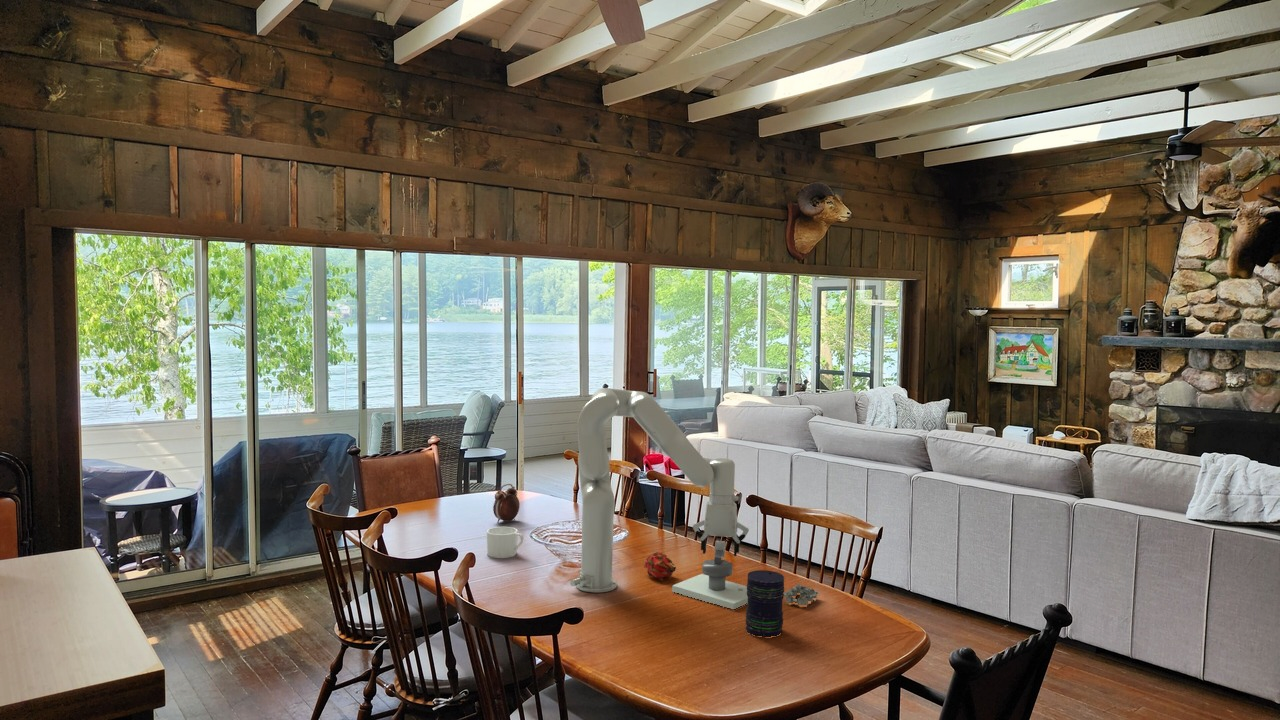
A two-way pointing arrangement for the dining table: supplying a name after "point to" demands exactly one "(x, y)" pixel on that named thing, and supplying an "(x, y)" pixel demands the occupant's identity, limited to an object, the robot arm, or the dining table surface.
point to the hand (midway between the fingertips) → (719, 553)
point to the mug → (503, 542)
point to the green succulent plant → (804, 591)
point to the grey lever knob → (718, 563)
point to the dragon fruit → (659, 566)
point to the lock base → (713, 590)
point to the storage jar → (764, 603)
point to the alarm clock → (506, 504)
